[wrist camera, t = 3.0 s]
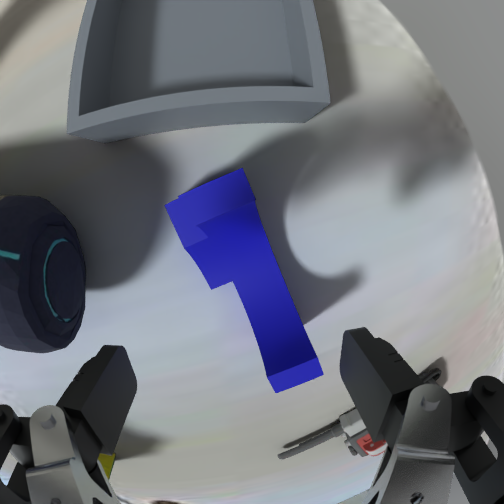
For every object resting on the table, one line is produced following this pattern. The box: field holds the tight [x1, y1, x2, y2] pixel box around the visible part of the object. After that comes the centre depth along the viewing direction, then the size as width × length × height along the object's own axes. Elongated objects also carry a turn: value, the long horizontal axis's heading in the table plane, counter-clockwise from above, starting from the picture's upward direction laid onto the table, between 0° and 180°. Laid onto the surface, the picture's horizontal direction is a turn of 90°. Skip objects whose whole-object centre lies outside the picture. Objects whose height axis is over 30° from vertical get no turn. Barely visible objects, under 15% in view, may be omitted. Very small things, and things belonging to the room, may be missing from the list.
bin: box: [67, 0, 331, 143], centre depth 11 cm, size 14×18×5 cm
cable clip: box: [165, 168, 324, 393], centre depth 16 cm, size 12×4×6 cm, turn 23°
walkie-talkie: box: [278, 368, 441, 459], centre depth 22 cm, size 9×4×20 cm
